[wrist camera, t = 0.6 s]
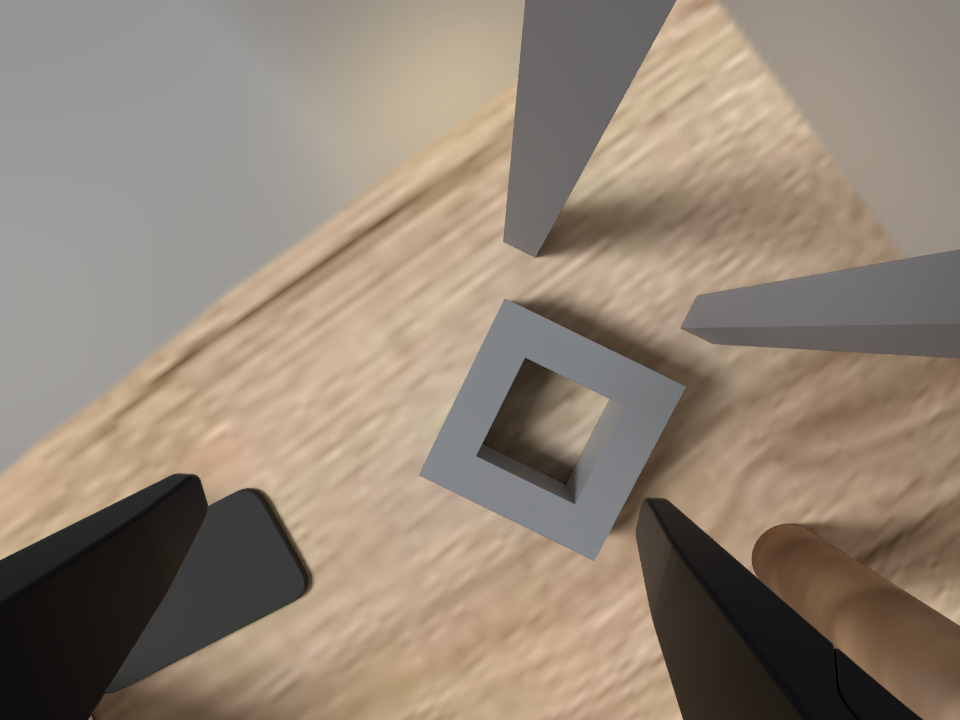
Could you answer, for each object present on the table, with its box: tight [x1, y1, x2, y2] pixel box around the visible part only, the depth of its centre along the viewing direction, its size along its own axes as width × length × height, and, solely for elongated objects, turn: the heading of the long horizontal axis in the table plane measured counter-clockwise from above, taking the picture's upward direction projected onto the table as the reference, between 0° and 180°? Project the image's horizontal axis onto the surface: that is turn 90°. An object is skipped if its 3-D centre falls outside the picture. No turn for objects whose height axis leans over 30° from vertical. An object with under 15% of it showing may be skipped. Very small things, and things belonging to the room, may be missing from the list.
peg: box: [752, 524, 960, 720], centre depth 19 cm, size 4×4×13 cm
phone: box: [105, 489, 308, 694], centre depth 27 cm, size 7×1×15 cm
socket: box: [419, 299, 686, 561], centre depth 24 cm, size 10×10×3 cm
